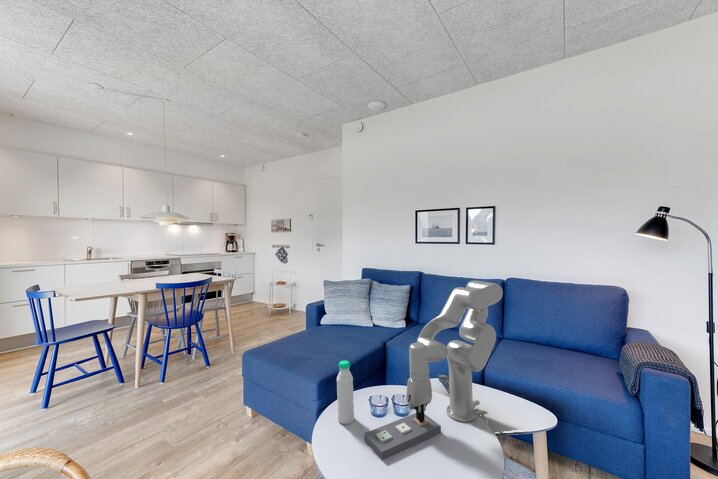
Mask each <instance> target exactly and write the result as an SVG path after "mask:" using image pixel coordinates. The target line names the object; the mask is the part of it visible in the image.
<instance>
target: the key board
mask: <svg viewBox="0 0 718 479" xmlns="http://www.w3.org/2000/svg"><path fill="white" fill-rule="evenodd" d="M424 416H425V417H424V418H425V419H427V420H428V421H429V424H427V425H425V426H422V427H419V426H418V425H417V424H415V423H414V422H413V419H414V418H416V412H414V413H412V414H410V415H406V416H405V417H402V418H400V419H397V420H395V421H392V422H390V423H387V424H384V425H382V426H380V427H376V428H375V429H372V430H370V431H367V432H364V442H365V443H366V444H367V446H368V447H370V448H371V450H372V452H374V454H376V456H377V457H378V458H379V460H381V461H384V460H386V459H389V458H390V457H393V456H395V455H397V454H399V453H401V452H404V451H406V450H408V449H410V448H412V447H414V446H416V445H418V444H421V443H423V442H425V441H428V440H430V439H432V438H435V437H436V436H438V435H440V434H442V427H441V425H440V424H439V423H438V422H436V421H435V420H433V418H431V417H429V416H428V415H426V413H424ZM402 423H405V424H406V425H408V426H409V427H410V428H411V432H408V433H406V434H404V435H401V434H400V433H399V432H398V431H397V430H396V429H395V426H397V425H399V424H402ZM385 430H386V431H387V432H388V433H389V434H390V435H391V436H392V440H390V441H387V442H385V443H383V444H382V443H381V442H380V441H379V440H378V439H377V438H376V434H377V433H380V432H382V431H385Z"/></svg>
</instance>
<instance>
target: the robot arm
mask: <svg viewBox="0 0 718 479" xmlns="http://www.w3.org/2000/svg"><path fill="white" fill-rule="evenodd" d="M503 294H504V292H503V288H502V286H501V285H500V284H498V283H495V282H490V281H489V282H488V281H482V280H469V282H467V284H466V286H465V287H462V286H458V287H455V288H453V290H452V291H451V293H450V294H449V297H448V299H447V300H446V302H445V304H444V306H443V307H442V310H441V312H440V313H439V314H438V316H436V317H434V318H432V320H431V319H430V321H429V322H427V323H426V324H425V325H424V326H423V328H422V329H421V331H420V333H419V335H418V337H417V339H416V342H413V343H411V344H410V345H409V346H408V352H409V353H408V356H409V378H408V379H407V383H406V384H407V385H406V394H405V395H406V403H408V409H410V410H413V411H414V410H415V413H416V418H417V420H419V421H420V422H424V421H425V418H424V417H425V416H424V414H425V411H426V409H427V406H428V405H429V404H430V403H431V402H432V398H433V390H432V383H431V378H430V376H429V375H430V373H431V370H430V369H429V363H437V362H443V361H444V360H447V365H448V386H449V405H447V407H446V414H447V416H448V417H449V418H451V419H453V420H454V421H458V422H461V423H462V422H464V423H469V422H473V421H474V420H476V419H477V417H478V414H477V413H478V412H477V410H476V409H475V408H476V406H479V405H480V404H481V402H480V400H479V399H476V400H473V374H472V372H476V373H478V372H481V371H482V370H483V369H484V368H485V366H486V365H487V362H488V360H489V358H490V357H491V356H490V355H491V353H492V351H493V349H494V347H495V343H496V341H497V332H496V329H495V328H494V327H493V326H492V325H490V324H489V323H486V322H487V319H488V315H489V309H488V307H490V306H493V305H495V304H497V303H499V302H500V301H501V299H502V298H503ZM466 310H467V312H466ZM464 314H465V315H464ZM463 316H464V318H463ZM461 320H463V321H462V322H461ZM460 322H461V324H460ZM459 324H460V326H459ZM458 326H459V330H458V334H459V336H460V338H462V339H464V340H465V341H466V342H465V341H462V340H457V339H454V340H451V341H449V342H448V343H447V345H445V344H443V343H442V342H441V341H438V340H435V339H434V338H435V337H436V336H437V334H439V333H440V332H441V331H443V330H446V329H451V328H455V327H458ZM468 342H470V343H472V344H473V345H472V344H470V343H468Z"/></svg>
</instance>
